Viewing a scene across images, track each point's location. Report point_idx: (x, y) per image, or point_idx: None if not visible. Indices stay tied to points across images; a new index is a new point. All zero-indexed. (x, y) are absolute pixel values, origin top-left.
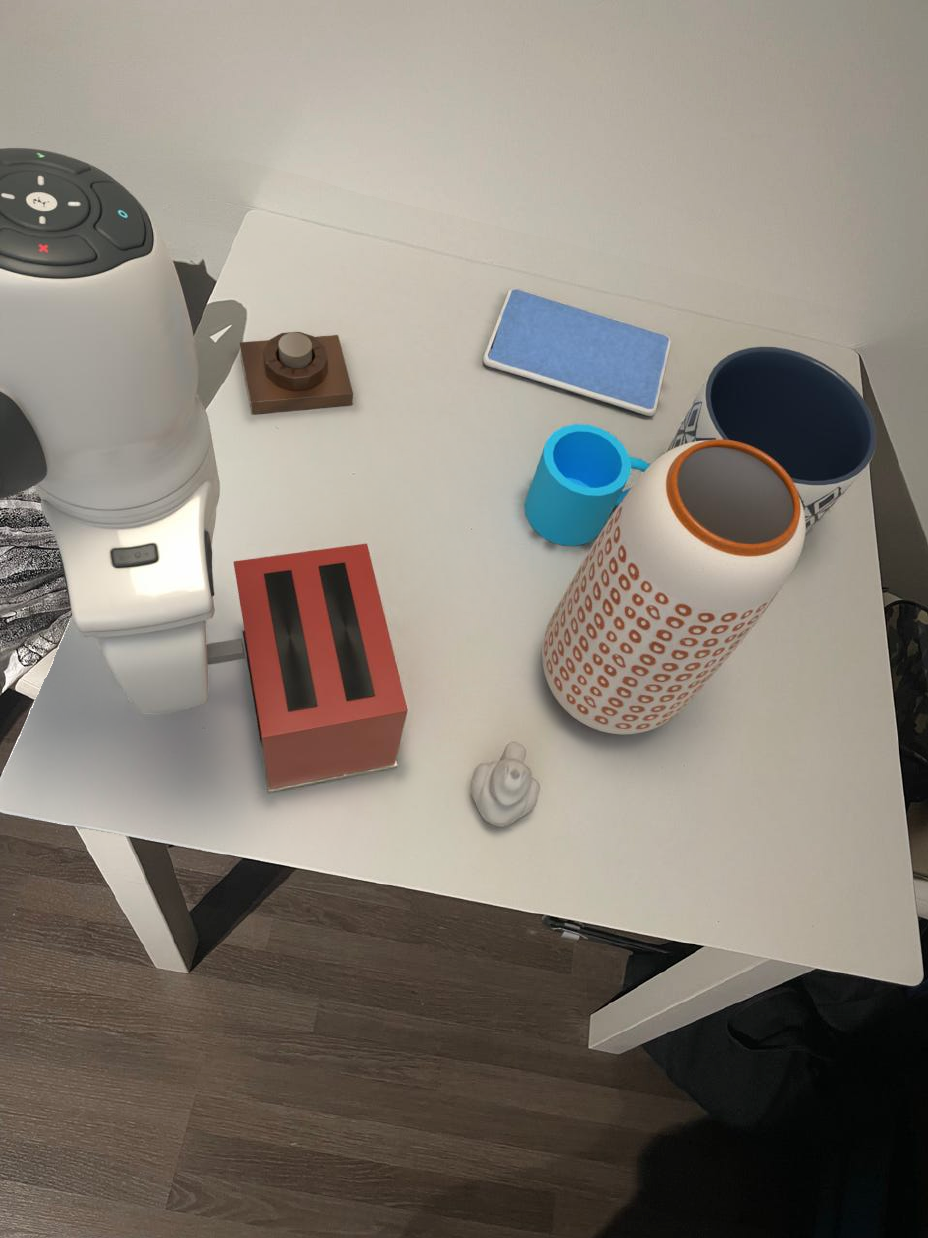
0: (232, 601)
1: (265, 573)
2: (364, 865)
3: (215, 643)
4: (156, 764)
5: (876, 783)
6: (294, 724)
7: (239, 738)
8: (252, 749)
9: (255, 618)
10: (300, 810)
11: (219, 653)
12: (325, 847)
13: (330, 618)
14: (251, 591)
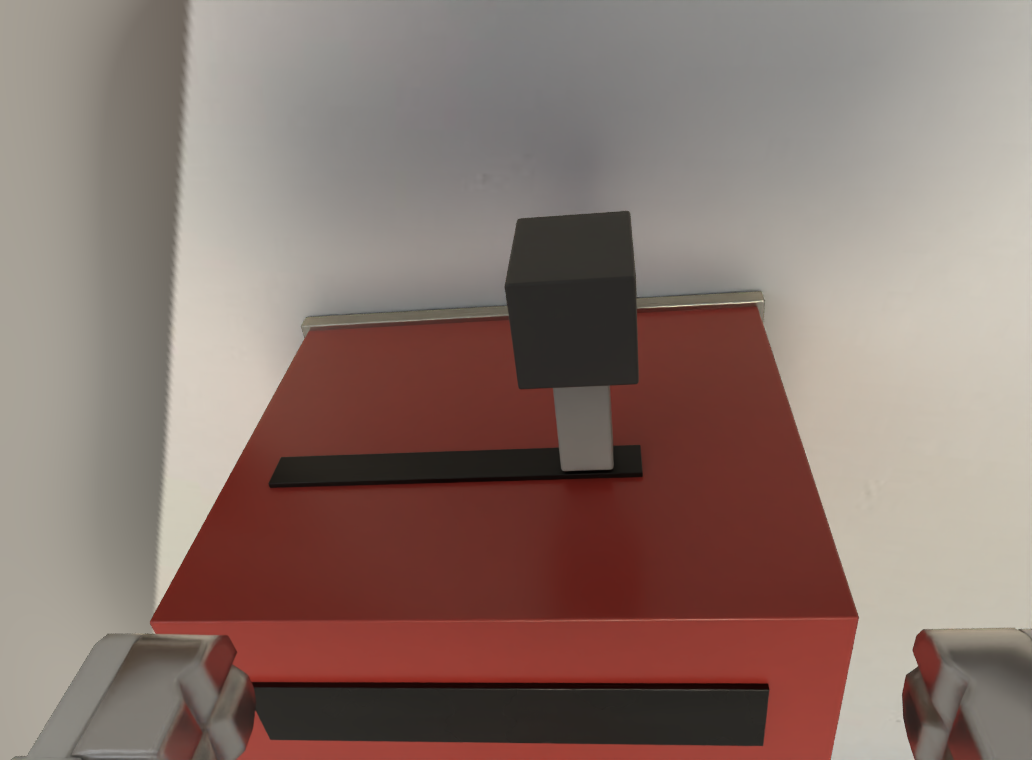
0: (876, 270)
1: (768, 693)
2: (170, 467)
3: (605, 403)
4: (379, 43)
5: None
6: None
7: (450, 263)
8: (419, 290)
9: (588, 650)
10: (272, 374)
11: (566, 410)
12: (196, 409)
13: None
14: (705, 649)
